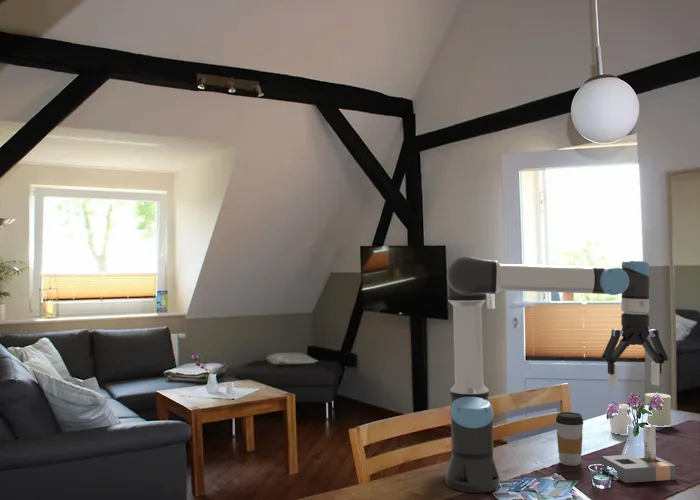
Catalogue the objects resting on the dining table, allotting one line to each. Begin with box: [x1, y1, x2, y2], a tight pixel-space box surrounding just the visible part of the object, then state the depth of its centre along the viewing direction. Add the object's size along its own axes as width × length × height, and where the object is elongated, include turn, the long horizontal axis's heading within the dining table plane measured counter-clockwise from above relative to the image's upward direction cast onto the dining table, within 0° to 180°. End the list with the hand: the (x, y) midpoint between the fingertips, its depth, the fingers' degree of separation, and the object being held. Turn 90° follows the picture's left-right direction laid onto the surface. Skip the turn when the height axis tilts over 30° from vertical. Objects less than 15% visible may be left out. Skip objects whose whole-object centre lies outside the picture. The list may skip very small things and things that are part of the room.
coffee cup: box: [555, 411, 584, 466], centre depth 202 cm, size 8×8×15 cm
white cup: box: [608, 403, 633, 434], centre depth 237 cm, size 8×8×10 cm
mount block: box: [601, 454, 677, 484], centre depth 191 cm, size 16×12×4 cm
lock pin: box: [643, 424, 657, 463], centre depth 192 cm, size 3×3×14 cm
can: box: [644, 392, 672, 426], centre depth 249 cm, size 9×9×12 cm
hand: (634, 385), depth 190 cm, fingers open, 13 cm apart
